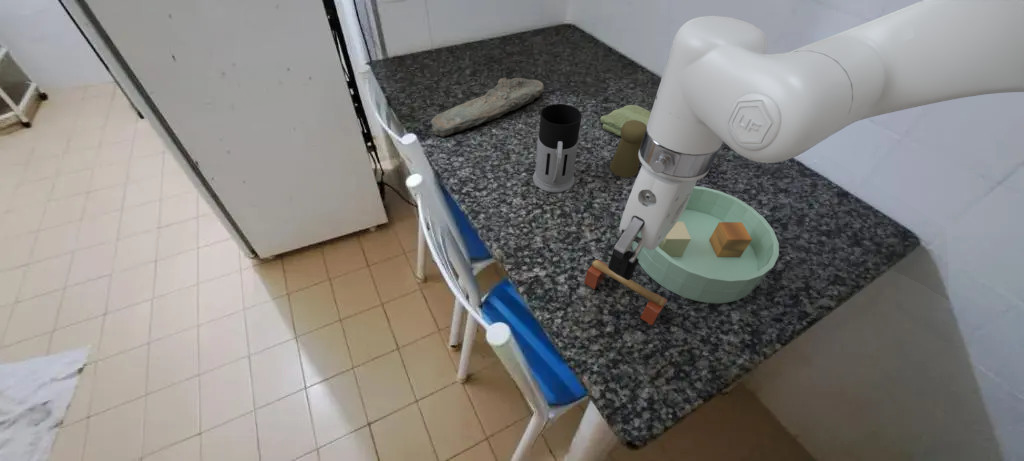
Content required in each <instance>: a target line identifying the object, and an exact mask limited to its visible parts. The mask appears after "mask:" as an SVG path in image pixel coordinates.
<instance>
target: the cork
mask: <svg viewBox="0 0 1024 461" xmlns="http://www.w3.org/2000/svg"><path fill="white" fill-rule="evenodd" d="M646 127H647V126H646V125H645V124H644V123H643V122H641V121H637V120H630V121H627V122H625V123H624V124H623V126H622V128H621V136H620V137H621V138H620V140H619V143H618V145H617V148H616V150H615V152H614V155H613V157H612V159H611V161H610V165H609V170H610V171H611V173H613V174H614V175H616V176H617V177H620V178H626V179H627V178H633V177H635V176H637V175H638V174H639V168H640V167H639V166H640V159H639V155H638V153H639V149H640V147H641V143H642V140H643V137H644V134H645V130H646Z"/></svg>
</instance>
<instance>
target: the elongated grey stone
mask: <svg viewBox="0 0 1024 461" xmlns="http://www.w3.org/2000/svg"><path fill="white" fill-rule="evenodd" d="M544 90H545V86H544V82H542V81H540V80H539V79H533V78H532V79H529V78H528V79H527V78H523V77H513V78H508V79H507V77H501V78H500V79H498V81H497V84H496V85H495V86H494V87H493V88H491V89H489V90H487V92H486V93H485V94H484V95H481V96H480V97H475V98H472V99H469V100H466V101H465V102H464V103H461V104H458V105H455V106H454V107H452V108H449V109H447V110H445V111H443V112H439V113H436V114H435V116H434V117H433V118H432V119H431V120H430V125H431V131H432V133H433V134H434V135H436V136H438V137H443V138H444V137H447V136H450V135H452V134H455V133H459V132H463V131H465V130H467V129H470V128H473V127H479V126H480V125H482V124H483V123H486V122H491V121H492V120H496V119H499V118H501V117H502V116H503V115H505V114H507V113H510V112H512V111H516V110H517V109H520V108H521V107H523V106H526V105H528V104H531V103H532V102H535V99H537V98H540V96H541V95H542V94H543V93H544Z"/></svg>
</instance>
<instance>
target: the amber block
mask: <svg viewBox="0 0 1024 461" xmlns="http://www.w3.org/2000/svg"><path fill="white" fill-rule="evenodd" d="M709 241H710V243H711V245H712V247H713V249H714V252H715V254H716V256H717V257H741V255H742V254H743V252H744V251H745V249H746V248H747V246H748V245H749V243H750V242H751V241H752V239H751V237H750V235H749V233H748V232H747V230H746V228H745V227H744V225H743V223H742V222H719V223H718V225H717V227H716V228H715V230H714V232H713V234H712V235H711V237H710V239H709Z"/></svg>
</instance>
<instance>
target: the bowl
mask: <svg viewBox="0 0 1024 461" xmlns="http://www.w3.org/2000/svg"><path fill="white" fill-rule="evenodd" d="M677 222H684V224H685V226H686V229H687V231H688V233H689V236H690V238H691V240H690V242H689V244H688V246H687V248H686V250H685V252H684V254H683V256H682V257H670V256H669V255H668V254H667V253H665V252H664V251H663V250H661V249H660V248H659V246H658V247H657V248H655V249H653V250H649V249H647V248H645V247H643V248H642V250H641V252H640V253H639V255H638V257H637V259H639V261H638V264H639V265H640V267H641V268H642V269H643V271H644V272H645V273H646V274H647V275H648V277H650V278H651V280H653V281H654V282H656V283H657V284H659V285H660V286H661V287H663V288H665V289H666V290H667V291H669V292H672V293H673V294H675V295H678V296H680V297H683V298H685V299H689V300H691V301H696V302H699V303H700V302H701V303H707V304H726V303H727V304H728V303H732V302H736V301H739V300H741V299H744V298H746V297H747V296H749V295H750V294H752V292H754V290H756V289H757V288H758V287H759V285H760V284H761V283H762V282H763V280H764V279H765V278H766V277H767V276H768V274H769V273H770V272H771V271H772V270H773V268H774V267H775V264H776V262H777V260H778V259H779V256H780V243H779V240H778V237H777V235H776V233H775V230H774V229H773V227H772V226H771V225H770V223H769V222H768V220H767V219H766V218H765V217H764V216H763V215H761V214H760V213H759V212H758V211H757V210H756V209H754V207H752V206H751V205H749V204H747V203H746V202H745V201H743V200H740V199H739V198H737V197H735V196H733V195H731V194H728V193H726V192H724V191H721V190H717V189H713V188H710V187H706V186H700V185H695V187H694V189H693V192H692V194H691V196H690V199H689V201H688V204H687V206H686V208H685V210H684V212H683V214H682V216H681V217H680V218H679V220H678V221H677ZM719 222H742V223H743V225H744V227H745V228H746V230H747V232H748V233H749V235H750V237H751V239H752V241H751V242H750V243H749V245H748V246H747V248H746V249H745V251H744V252H743V254H742V255H741V257H717V256H716V254H715V252H714V249H713V247H712V245H711V243H710V241H709V239H710V237H711V235H712V234H713V232H714V230H715V228H716V227H717V225H718V223H719ZM637 236H638V237H640V238H642V237H641V231H640V232H639V233H638V235H637ZM637 245H638V243H637V242H635V241H633V242H632V244H631V248H632V252H634V250H635V249H636V247H637Z"/></svg>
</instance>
